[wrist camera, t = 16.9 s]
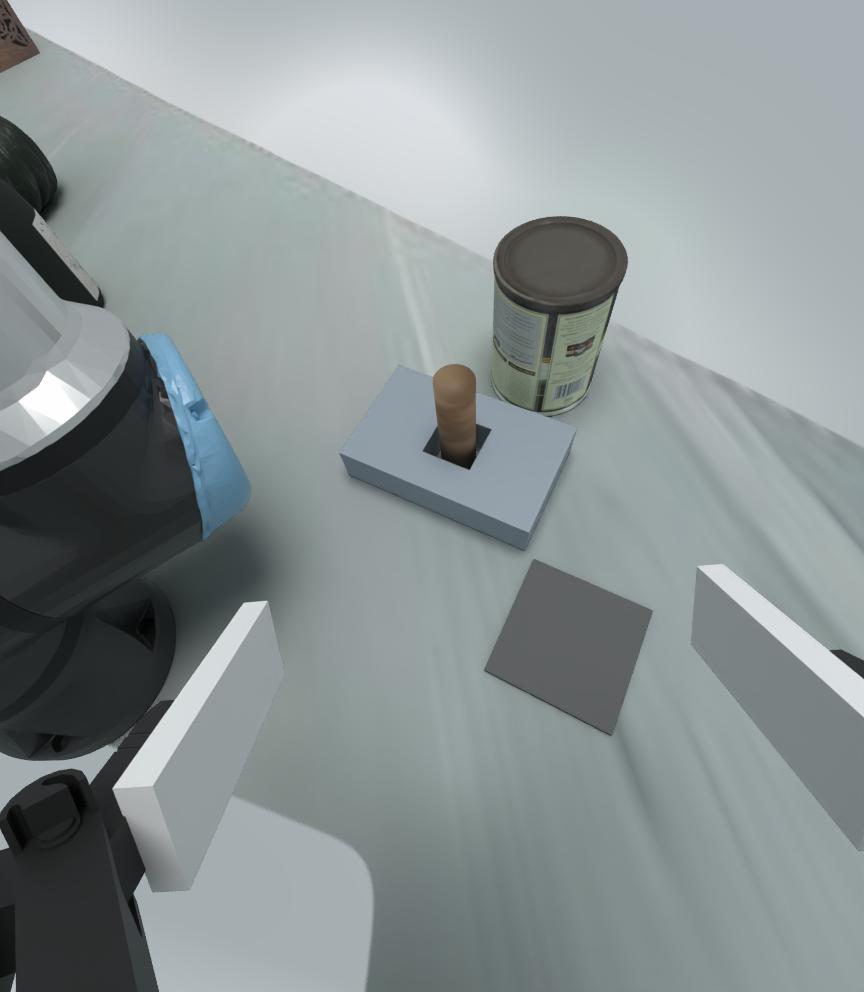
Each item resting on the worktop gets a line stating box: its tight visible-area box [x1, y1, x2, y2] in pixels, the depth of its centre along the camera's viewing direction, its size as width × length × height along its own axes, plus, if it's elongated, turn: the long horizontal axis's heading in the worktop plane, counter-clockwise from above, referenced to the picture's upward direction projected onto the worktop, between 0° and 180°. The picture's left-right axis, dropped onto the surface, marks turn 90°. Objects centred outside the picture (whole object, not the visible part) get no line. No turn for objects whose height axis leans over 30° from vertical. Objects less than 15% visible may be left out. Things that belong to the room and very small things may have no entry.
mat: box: [485, 559, 653, 735], centre depth 39 cm, size 10×10×1 cm
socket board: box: [339, 365, 577, 551], centre depth 46 cm, size 18×11×4 cm, turn 63°
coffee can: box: [491, 216, 628, 416], centre depth 45 cm, size 10×10×14 cm
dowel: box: [433, 364, 476, 470], centre depth 42 cm, size 3×3×12 cm
